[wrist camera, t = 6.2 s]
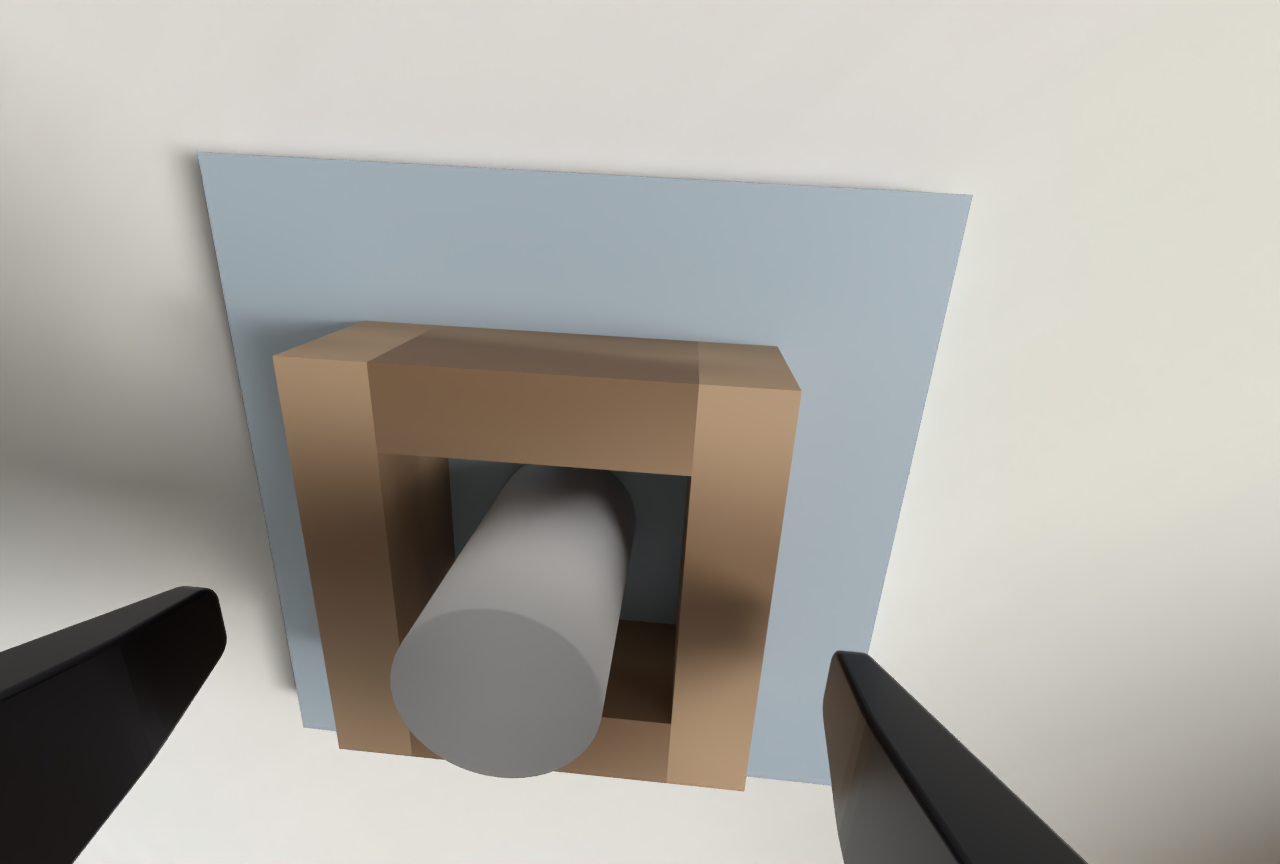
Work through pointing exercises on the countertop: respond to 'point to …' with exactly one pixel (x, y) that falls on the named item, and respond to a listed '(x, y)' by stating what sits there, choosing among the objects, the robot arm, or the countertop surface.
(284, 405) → the square wooden frame
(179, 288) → the countertop surface
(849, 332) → the base plate with peg
